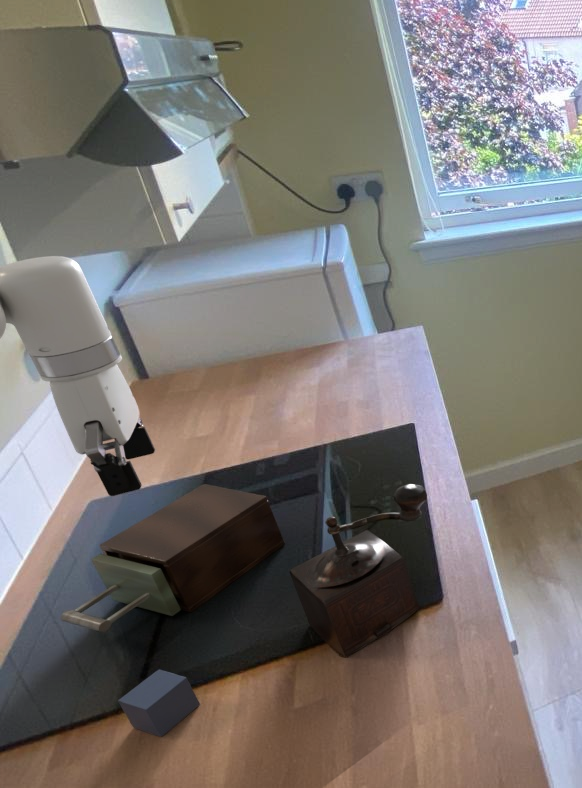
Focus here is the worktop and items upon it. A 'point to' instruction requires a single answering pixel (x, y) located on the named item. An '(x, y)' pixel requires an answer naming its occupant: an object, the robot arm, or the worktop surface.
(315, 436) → the worktop surface
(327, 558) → the manual coffee grinder
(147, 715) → the block
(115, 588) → the drawer
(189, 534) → the cabinet
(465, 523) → the worktop surface
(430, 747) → the worktop surface
